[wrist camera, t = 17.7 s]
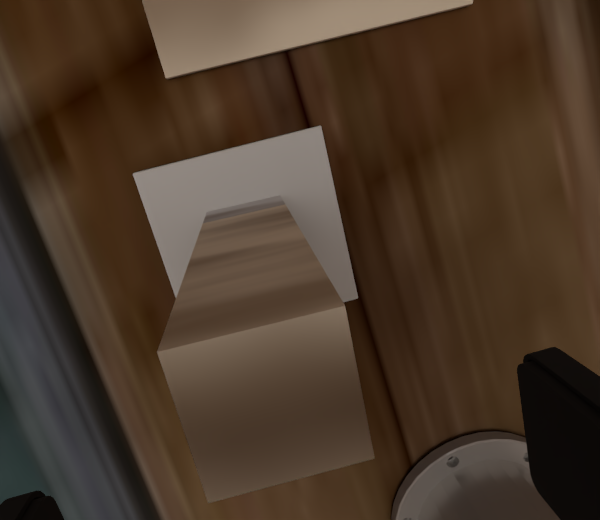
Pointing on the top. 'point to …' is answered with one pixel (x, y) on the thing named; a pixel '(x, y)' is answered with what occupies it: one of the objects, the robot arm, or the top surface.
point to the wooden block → (262, 356)
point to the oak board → (266, 26)
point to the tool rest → (249, 199)
